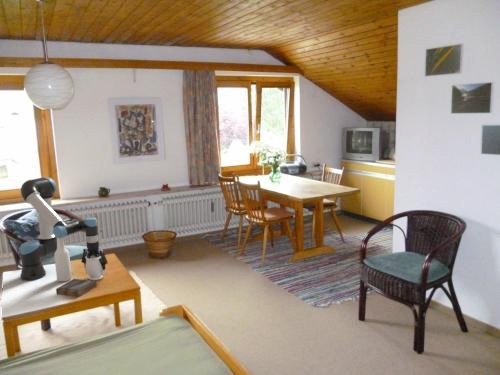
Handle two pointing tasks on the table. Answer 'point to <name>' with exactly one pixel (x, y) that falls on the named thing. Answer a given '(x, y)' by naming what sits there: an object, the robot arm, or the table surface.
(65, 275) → the alcohol
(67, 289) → the plinth
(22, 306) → the table surface
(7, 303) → the table surface
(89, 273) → the jar
